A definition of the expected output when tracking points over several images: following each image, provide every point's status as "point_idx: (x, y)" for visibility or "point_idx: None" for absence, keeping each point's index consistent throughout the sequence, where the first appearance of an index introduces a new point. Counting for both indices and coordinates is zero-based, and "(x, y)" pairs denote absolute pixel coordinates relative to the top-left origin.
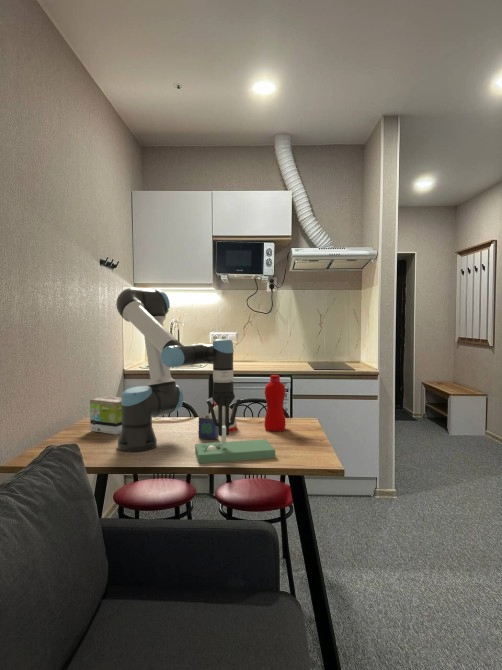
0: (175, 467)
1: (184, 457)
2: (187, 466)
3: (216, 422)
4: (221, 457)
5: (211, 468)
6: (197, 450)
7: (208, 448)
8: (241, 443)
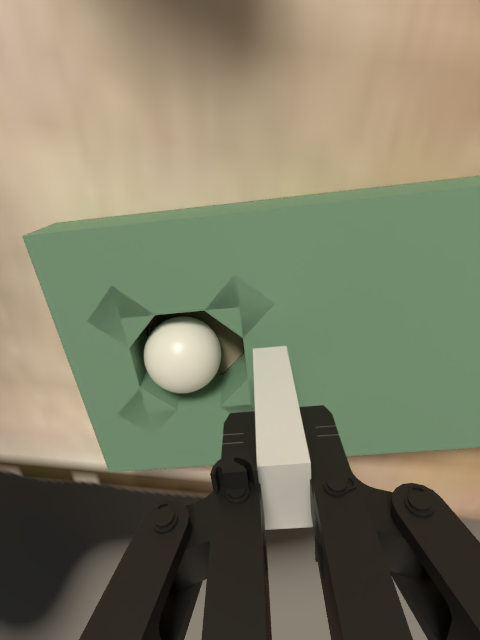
0: (19, 466)
1: (16, 336)
2: (75, 462)
3: (188, 604)
4: None
5: (195, 492)
6: (83, 396)
7: (156, 383)
8: (434, 272)
